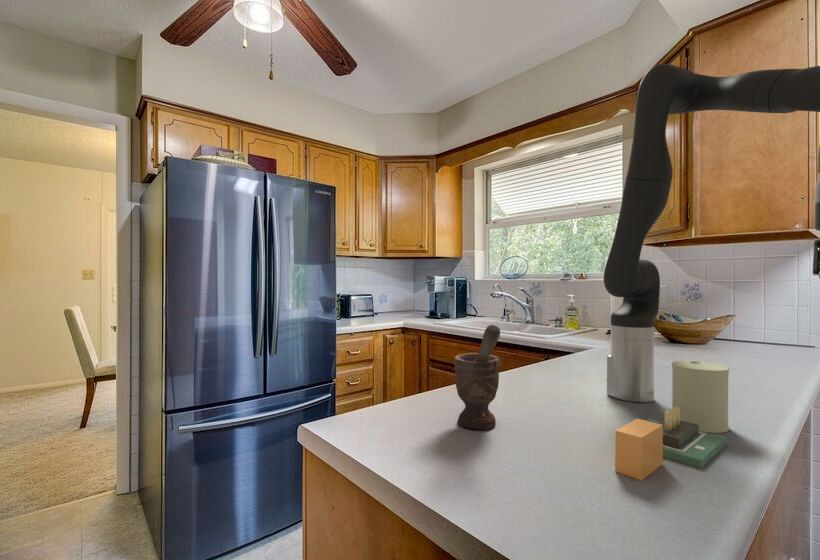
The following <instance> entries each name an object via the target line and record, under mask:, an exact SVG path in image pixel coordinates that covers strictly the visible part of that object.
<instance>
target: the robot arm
mask: <svg viewBox="0 0 820 560" xmlns="http://www.w3.org/2000/svg"><path fill="white" fill-rule="evenodd" d="M637 89H638V90H637V95H636V103H635V112H634V113H635V114H634V115H635V116H634V125H633V126H634V127H633V136H632V137H633V138H632V143H631V149H630V156H629V163H628V169H627V172H626V176H625V181H624V184H623V185H624V187H623V191H622V198H621V203H620V204H621V205H620V209H619V214H618V219H617V224H616V228H615V232H614V237H613V240H612V244H611V247H610V251H609V254H608V257H607V259H606V264H605V267H604V271H603V283H604V285H603V286H604V288H605V290H606V292H608V293H609V294H610V295H611V296H612V297H614V298H616V297H617V298H622V304H621V305H620V306H619V308H617V309H616V310H614V311H613V312H612V313H611V314H610V354H609V355H607V356H606V396H611V397H612V398H615V399H618V400H621V401H624V402H625V401H627V402H633V403H651V402H653V401H655V320H656V318H657V316H658V313H659V307H660V292H661V277H660V273H659V270H658V268H657V266H656V264H654V263H653V262H652V261H650V260H648V259H643V258H641V255H642V254H641V253H642V248H643V244H644V242H645V239H646V237H647V235H648V233H649V232H650V231H651V229H652V227H653V226H654V225H655V224H656V222H657V221H658V220H659V218H660V216H661V215H662V213H663V211H664V210H665V209H666V206H667V204H668V200H669V197H670V196H669V195H670V192H671V187H672V181H673V170H674V169H673V163H672V159H671V155H670V151H669V147H668V143H667V135H666V134H667V123H668V118H669V115H677V114H678V115H679V114H687V113H695V112H703V111H704V112H705V111H717V110H718V111H734V112H735V111H736V112H747V113H765V114H789V113H794V112H798V111H800V112H815V113H820V65H815V66H810V67H806V68H776V69H775V68H773V69H772V68H771V69H759V70H752V71H748V72H743V73H740V74H736V75H732V76H731V75H729V76H712V75H706V74H700V73H696V72H693V71H691V70H690V69H687V68H683V67H680V66H677V65H674V64H671V63H670V64H668V63H659V64H656V65H654V66H652V67H651V68H650V69H649V70H648V71H647V72H646V73H645V74H644V76H643V78H642V79H641V81H640V83H639V87H638V88H637ZM814 194H815V195H814V196H815V197H814V229H815V230H816V231H817V232H820V144H819V145H818V156H817V178H816V183H815V189H814ZM812 256H813V257H812V258H813V259H812V260H813V261H812V274H813V275H814V276H818V278H819V279H820V239H815V240H814V241H813V255H812Z"/></svg>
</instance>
